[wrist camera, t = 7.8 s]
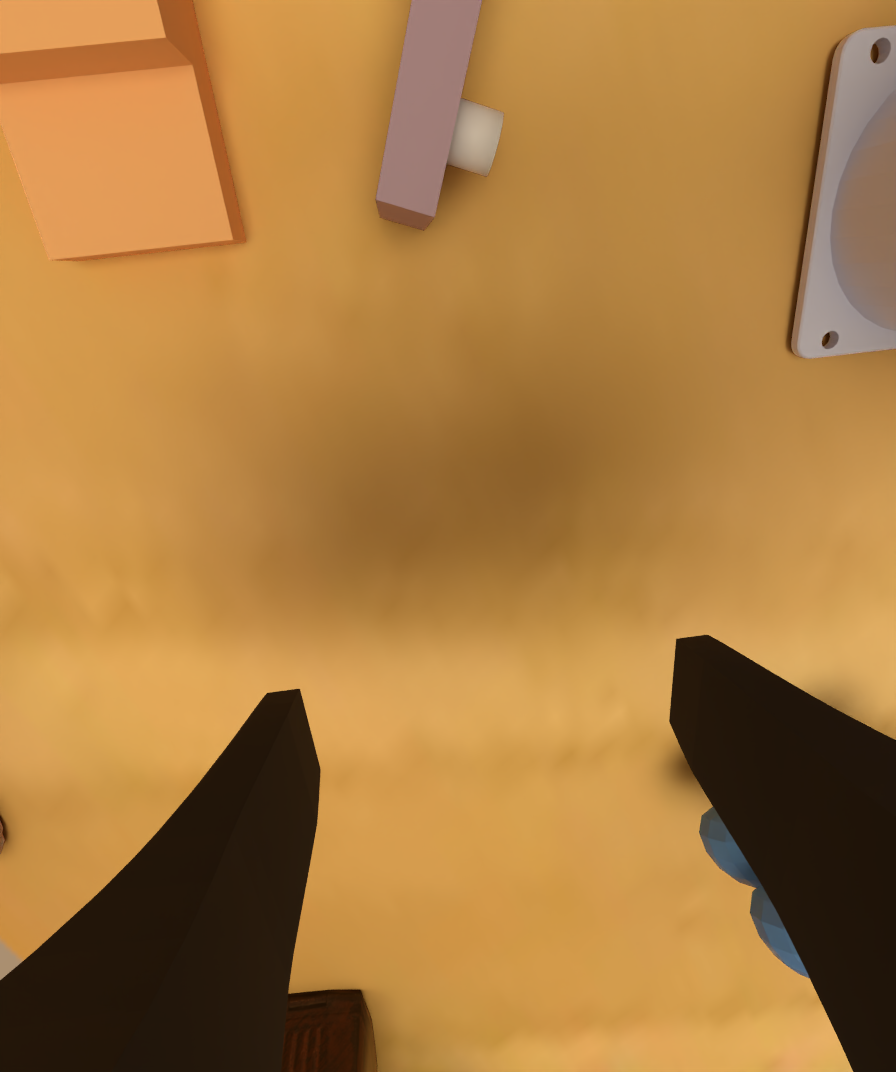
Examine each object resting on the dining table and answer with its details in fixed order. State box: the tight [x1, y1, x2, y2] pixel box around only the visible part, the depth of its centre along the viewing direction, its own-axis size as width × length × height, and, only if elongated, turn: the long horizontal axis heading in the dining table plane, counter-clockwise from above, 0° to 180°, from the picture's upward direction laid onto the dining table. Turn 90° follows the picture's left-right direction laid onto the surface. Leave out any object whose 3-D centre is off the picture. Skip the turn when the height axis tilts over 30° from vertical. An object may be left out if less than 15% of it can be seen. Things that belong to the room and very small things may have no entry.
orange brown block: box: [0, 0, 246, 261], centre depth 13 cm, size 4×9×4 cm, turn 6°
